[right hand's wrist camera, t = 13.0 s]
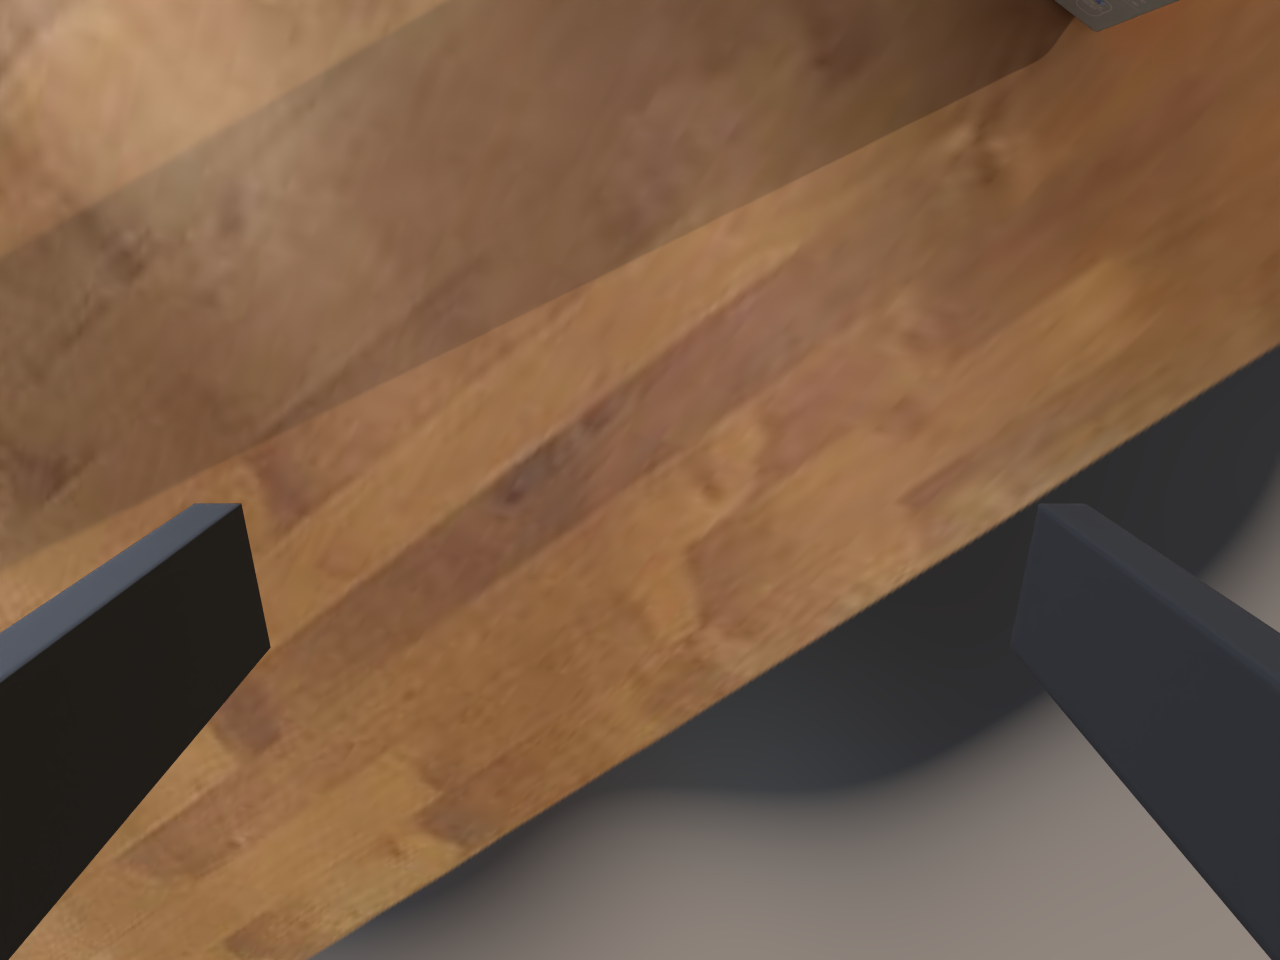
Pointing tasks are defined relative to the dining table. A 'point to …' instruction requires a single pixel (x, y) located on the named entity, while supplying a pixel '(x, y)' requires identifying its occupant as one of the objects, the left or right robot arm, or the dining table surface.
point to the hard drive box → (1109, 10)
